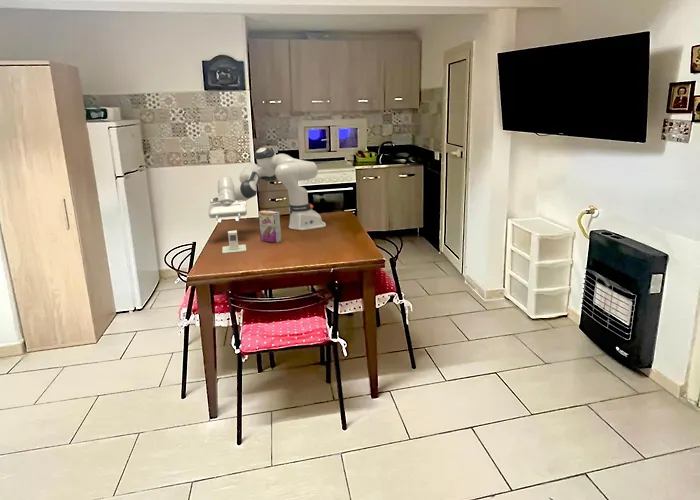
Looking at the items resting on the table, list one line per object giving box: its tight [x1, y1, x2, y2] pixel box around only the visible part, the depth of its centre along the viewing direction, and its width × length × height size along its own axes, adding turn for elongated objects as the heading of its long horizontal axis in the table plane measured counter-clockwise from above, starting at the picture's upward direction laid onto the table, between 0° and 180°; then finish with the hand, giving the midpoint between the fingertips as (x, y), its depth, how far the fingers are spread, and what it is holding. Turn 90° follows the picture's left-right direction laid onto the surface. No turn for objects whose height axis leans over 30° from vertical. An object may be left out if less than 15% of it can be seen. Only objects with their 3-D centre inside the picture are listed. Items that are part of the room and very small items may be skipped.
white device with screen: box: [227, 229, 239, 250], centre depth 252 cm, size 4×5×9 cm
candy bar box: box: [257, 210, 283, 244], centre depth 264 cm, size 11×5×16 cm, turn 59°
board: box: [222, 244, 247, 254], centre depth 253 cm, size 12×12×1 cm
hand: (228, 222), depth 262 cm, fingers open, 8 cm apart
